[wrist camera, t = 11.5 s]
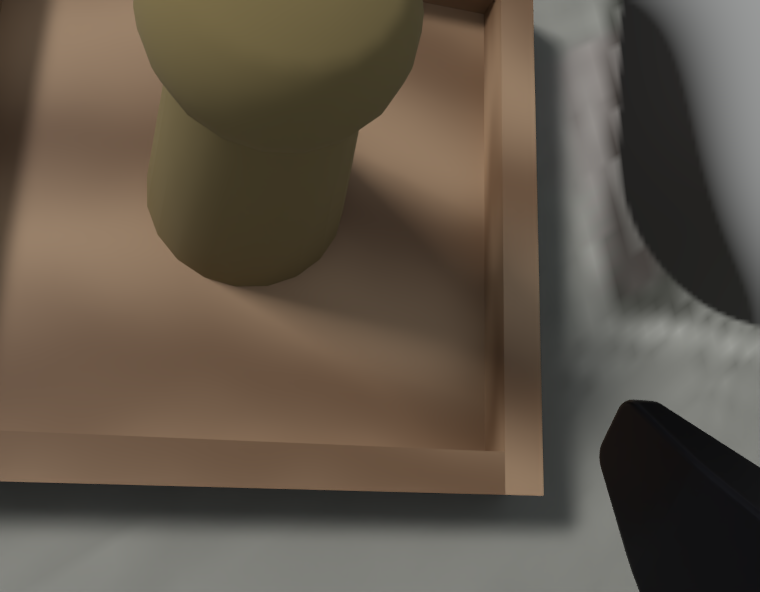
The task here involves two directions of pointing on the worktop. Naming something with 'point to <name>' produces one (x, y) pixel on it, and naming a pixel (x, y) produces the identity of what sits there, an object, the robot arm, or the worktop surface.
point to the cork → (264, 123)
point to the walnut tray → (277, 301)
